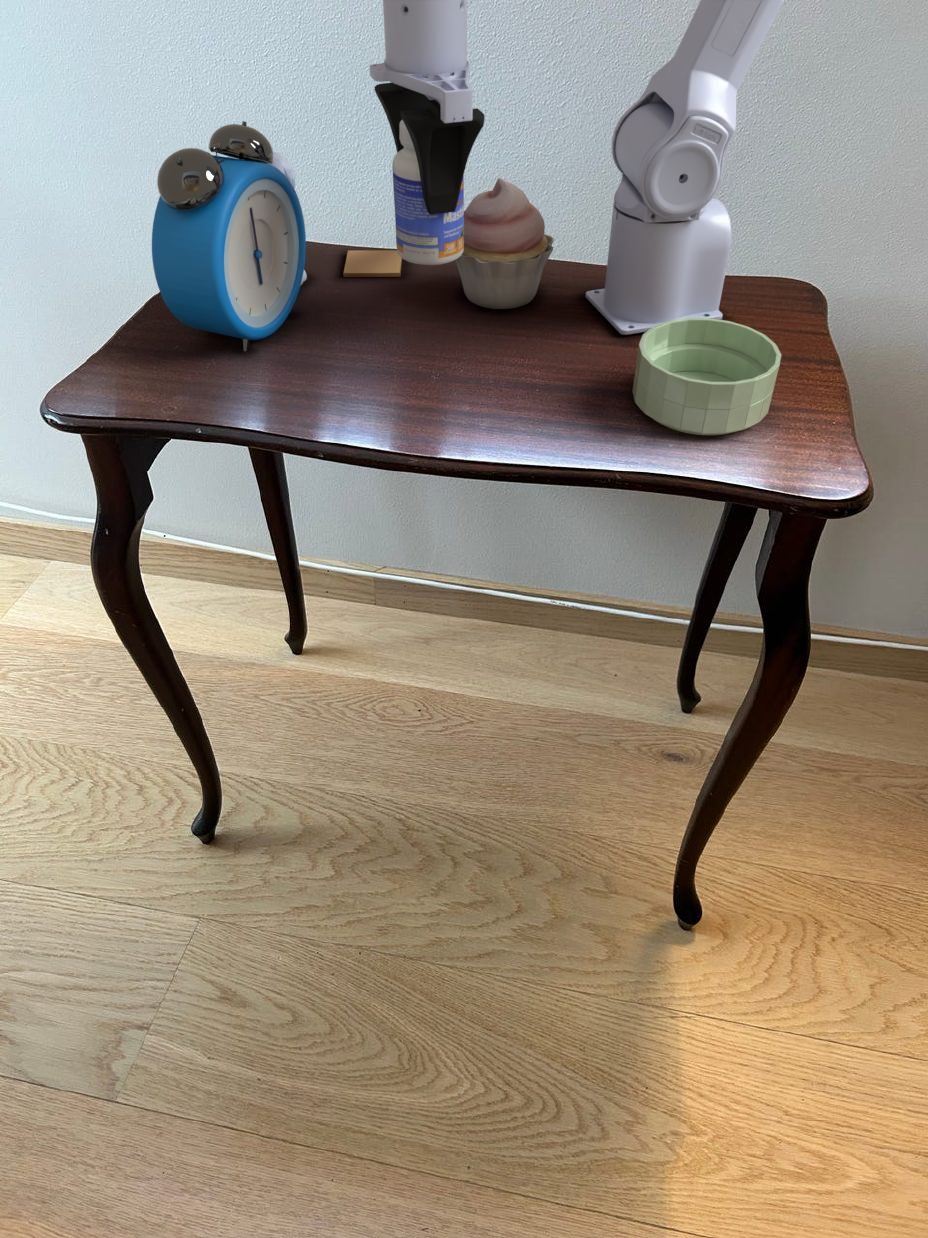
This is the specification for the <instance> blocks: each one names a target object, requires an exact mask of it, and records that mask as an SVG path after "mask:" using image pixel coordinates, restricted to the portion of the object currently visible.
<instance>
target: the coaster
mask: <svg viewBox="0 0 928 1238" xmlns="http://www.w3.org/2000/svg"><path fill="white" fill-rule="evenodd" d="M345 258H346V259H345V264H344V269H343V274H342V275H343V278H401V274H402V273H401V271H402V264H403V259H402V258H401V257H400V256H399V254H398V252H397V249H394V250H393V249H385V250H384V249H381V250H378V249H377V250H376V249H375V250H374V249H373V250H372V249H371V250H370V249H369V250H368V249H367V250H365V249H363V250H361V249H359V250H357V249H355V250H351V249H350V250H347V253H346V257H345Z"/></svg>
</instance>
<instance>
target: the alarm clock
mask: <svg viewBox="0 0 928 1238" xmlns="http://www.w3.org/2000/svg"><path fill="white" fill-rule="evenodd" d="M208 150H209V151H210V152H211V153H215V154H211V153H210V152H208V151H206V150H204V149H200V148H197V147H188V148H186V147H185V148H182V149H178V150H176V151H174V152H172V153H171V154H170V155H168V156H167V157H166V158H165V159H164V161H163V162H162V164H161V166H160V167H159V170H158V173H157V178H156V184H157V191H158V193H159V198H158V201H157V203H156V208H155V212H154V217H153V223H152V231H151V258H152V266H153V267H152V268H153V272H154V276H155V281H156V284H157V288H158V291H159V293H160V295H161V297H162V300H163V301H164V303H165V305H166V306H167V308H168V309H169V310H170V312H171V314H172V315H173V316H174V317H175V318H176V319H177V320H178V321H179V322H181V323H182V324H184V325H185V326H188V327H189V328H192V329H195V330H201V331H205V332H209V333H215V334H219V335H223V336H229V337H233V338H237V339H242V344H243V352H248V351H249V348H250V344H251V342H252V341H259V340H262V339H265V338H267V337H269V336H271V335H273V334H274V333H275V332H276V331H277V330H278V329H280V327H281V326H282V325H283V324H284V322H285V321H286V320H287V318H288V317H290V315H291V311H292V309H293V307H294V305H295V302H296V300H297V298H298V295H299V292H300V289H301V286H302V285H301V282H302V277H303V272H304V270H305V264H306V252H307V248H306V247H307V238H306V235H307V234H306V224H305V219H304V215H303V214H304V213H303V208H302V206H301V201H300V199H299V195H298V194H297V192H296V191H297V190H296V188H295V189H294V187H293V186H292V184H291V182H290V181H289V180H288V178H287V177H286V176H285V175H284V174H283V173H282V172H281V171H280V170H279V169H277V168H276V167H274V166H272V165H269V164H272V163H273V161H274V153H273V152H274V150H273V147H272V144H271V142H270V140H268V138H267V136H265V135H264V134H263V133H262V132H261V131H259V130H257V129H256V128H253V127H251V126H248V125H247V121H246V120H245V121H243V120H242V122H241V124H239V123H229V124H225V125H223V126H220V127H219V128H217V129H216V130H215V131H213V133H212V134H211V136H210V139H209V143H208ZM218 154H219V155H218ZM220 155H223V156H220ZM228 156H229V157H233V158H228ZM234 158H237V159H234Z"/></svg>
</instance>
